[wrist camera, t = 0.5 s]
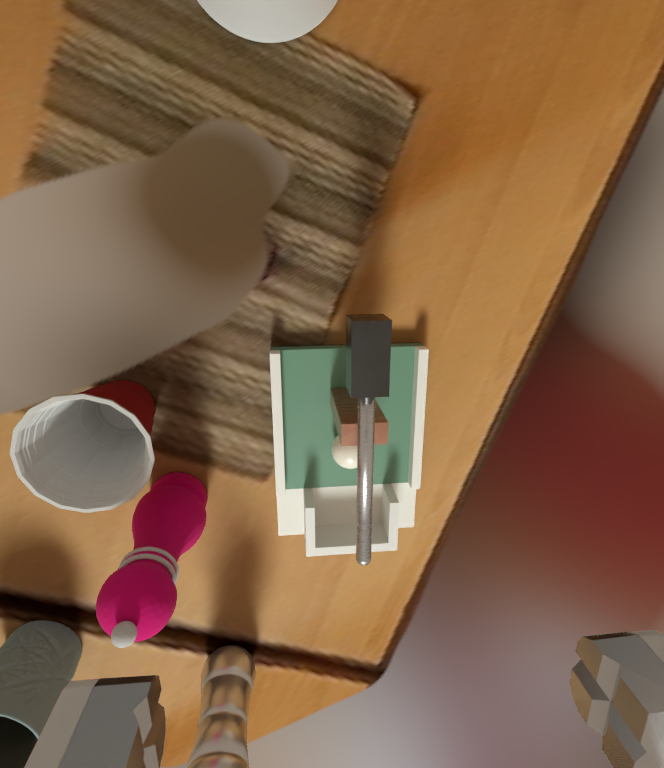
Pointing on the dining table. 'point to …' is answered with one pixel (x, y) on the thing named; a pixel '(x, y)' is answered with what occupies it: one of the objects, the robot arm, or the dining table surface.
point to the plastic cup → (87, 447)
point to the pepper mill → (153, 560)
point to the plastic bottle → (224, 710)
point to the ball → (344, 454)
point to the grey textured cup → (32, 684)
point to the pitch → (314, 443)
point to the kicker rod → (364, 410)
